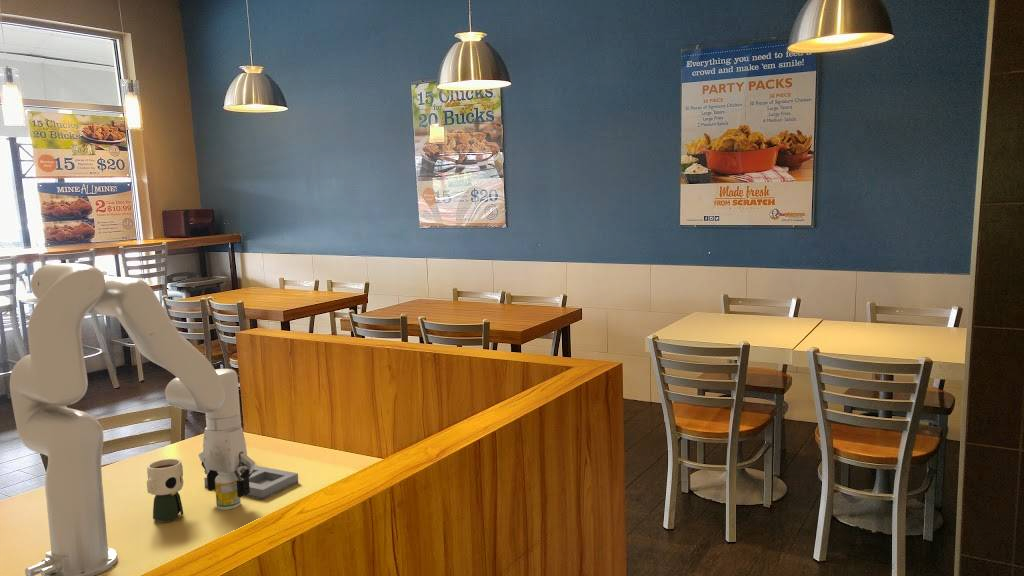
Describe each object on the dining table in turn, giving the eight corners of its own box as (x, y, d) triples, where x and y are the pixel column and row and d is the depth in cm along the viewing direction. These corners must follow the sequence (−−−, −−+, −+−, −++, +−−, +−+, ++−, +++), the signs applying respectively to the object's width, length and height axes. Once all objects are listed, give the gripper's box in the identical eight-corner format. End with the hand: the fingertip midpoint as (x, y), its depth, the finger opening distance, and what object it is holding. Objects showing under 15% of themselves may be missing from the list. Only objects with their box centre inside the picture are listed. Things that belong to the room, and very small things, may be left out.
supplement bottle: (240, 508, 171) (237, 469, 169) (215, 511, 169) (212, 472, 168) (241, 500, 176) (239, 461, 175) (217, 503, 174) (215, 464, 173)
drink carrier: (263, 499, 175) (262, 489, 175) (204, 487, 184) (204, 477, 184) (298, 482, 186) (297, 473, 186) (241, 471, 195) (240, 462, 195)
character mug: (164, 530, 160) (160, 473, 158) (137, 527, 161) (133, 470, 160) (197, 510, 170) (194, 456, 169) (171, 507, 172) (167, 454, 170)
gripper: (184, 422, 171) (190, 492, 173) (238, 431, 163) (243, 504, 165) (210, 413, 177) (215, 481, 179) (263, 421, 170) (267, 491, 172)
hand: (228, 492), depth 172 cm, fingers open, 9 cm apart
